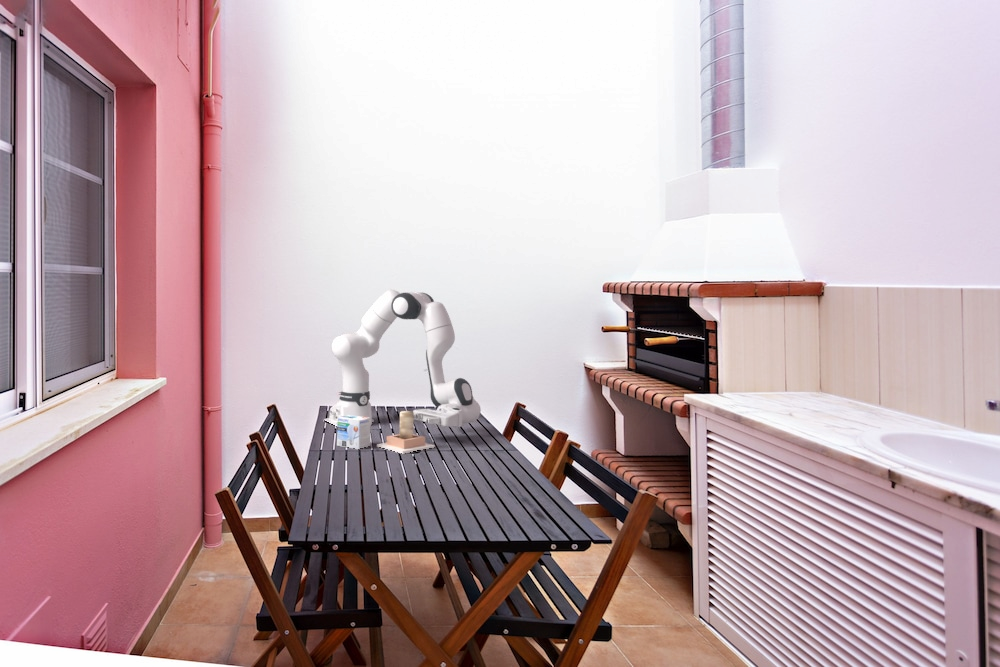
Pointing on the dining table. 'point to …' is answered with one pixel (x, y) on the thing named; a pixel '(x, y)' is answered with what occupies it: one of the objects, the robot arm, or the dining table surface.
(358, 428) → the light bulb box
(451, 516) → the dining table surface
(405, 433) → the ash peg
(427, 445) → the collar base
